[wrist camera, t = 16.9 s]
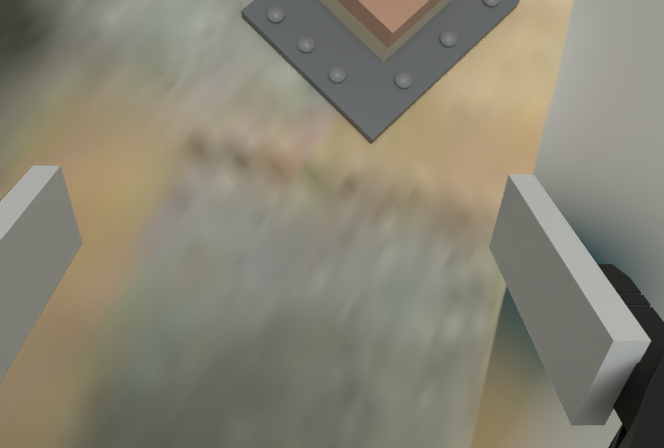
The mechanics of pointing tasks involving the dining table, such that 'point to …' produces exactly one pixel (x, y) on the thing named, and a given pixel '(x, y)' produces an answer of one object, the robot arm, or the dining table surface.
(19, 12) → the dining table surface
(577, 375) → the robot arm
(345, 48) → the build base
